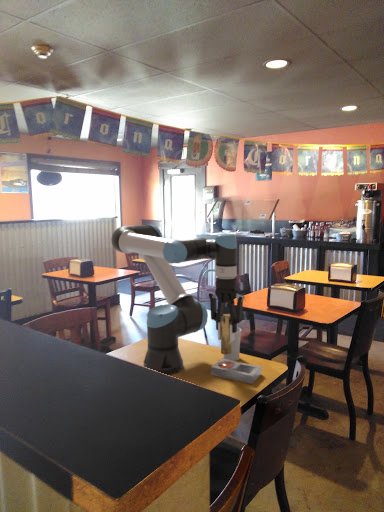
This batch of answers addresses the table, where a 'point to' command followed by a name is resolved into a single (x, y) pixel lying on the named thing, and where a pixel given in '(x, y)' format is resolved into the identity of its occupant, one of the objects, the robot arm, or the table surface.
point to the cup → (235, 347)
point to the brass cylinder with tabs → (225, 334)
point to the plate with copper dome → (236, 371)
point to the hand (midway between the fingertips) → (226, 339)
